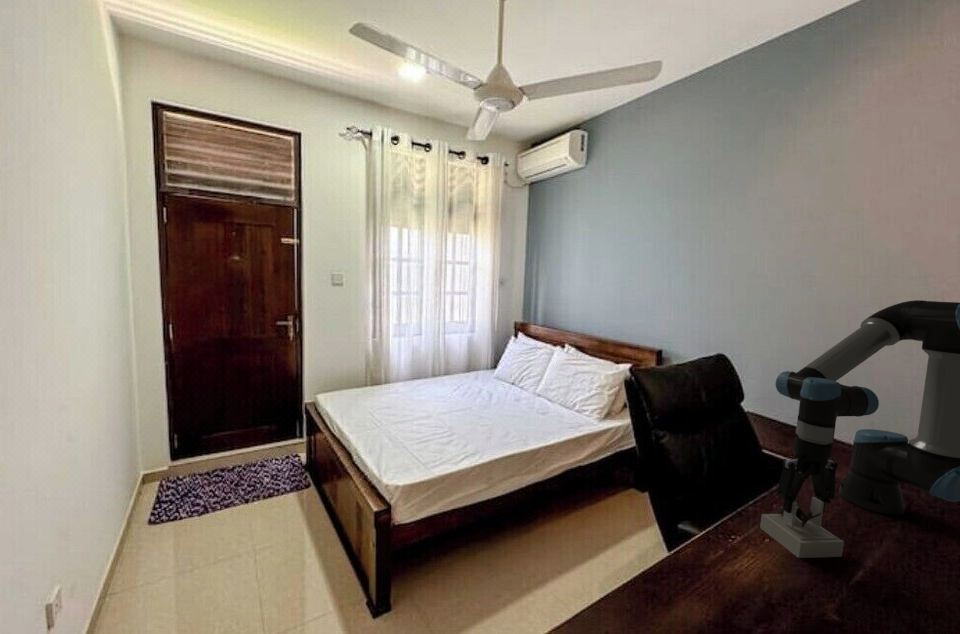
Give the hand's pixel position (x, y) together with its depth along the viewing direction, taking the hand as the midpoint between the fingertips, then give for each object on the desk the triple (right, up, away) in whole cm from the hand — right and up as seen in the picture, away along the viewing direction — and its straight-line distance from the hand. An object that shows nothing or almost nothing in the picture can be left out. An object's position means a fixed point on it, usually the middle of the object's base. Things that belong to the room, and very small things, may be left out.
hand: (801, 523), depth 106 cm
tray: (0, -5, +1) cm, 5 cm away
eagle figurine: (0, 0, +3) cm, 3 cm away
